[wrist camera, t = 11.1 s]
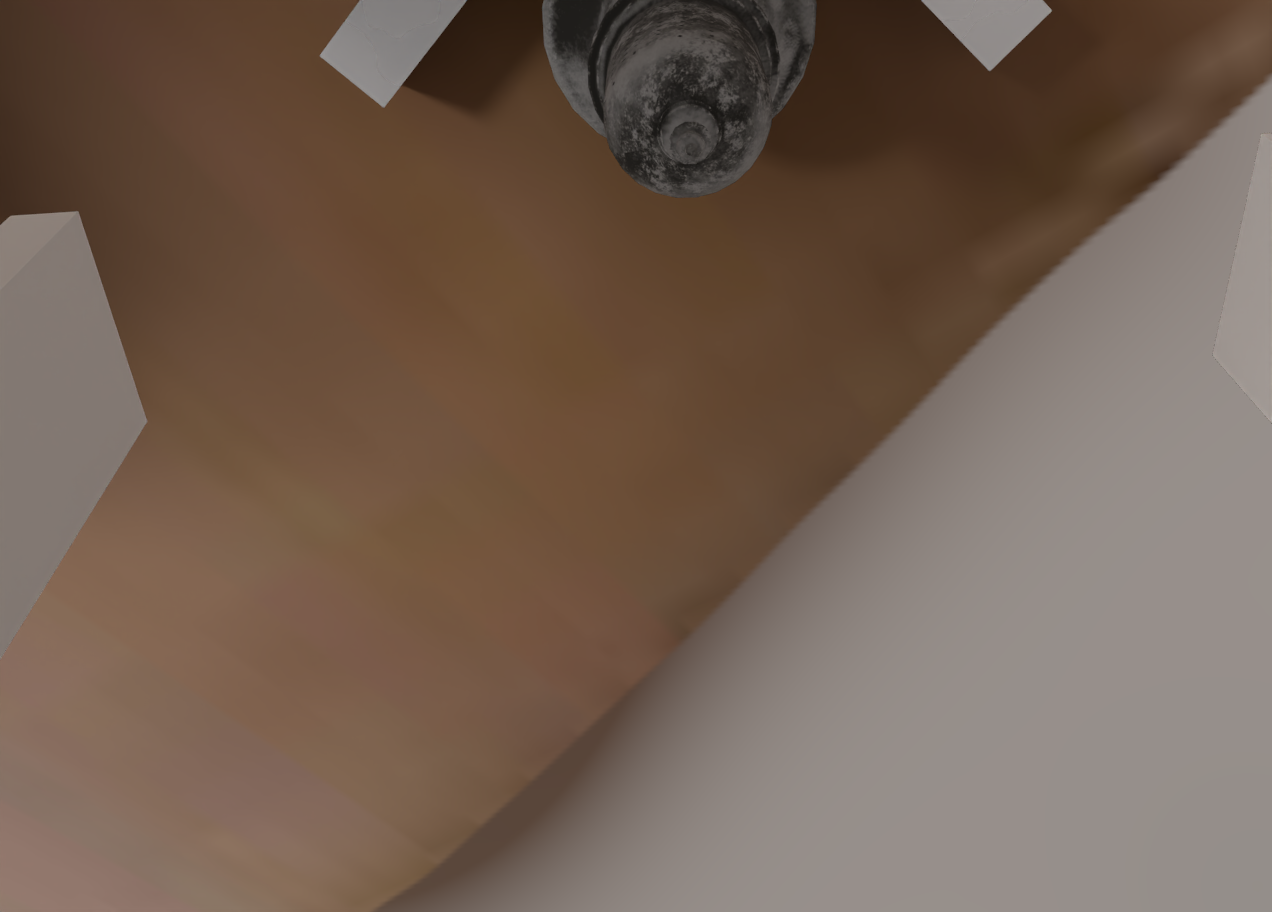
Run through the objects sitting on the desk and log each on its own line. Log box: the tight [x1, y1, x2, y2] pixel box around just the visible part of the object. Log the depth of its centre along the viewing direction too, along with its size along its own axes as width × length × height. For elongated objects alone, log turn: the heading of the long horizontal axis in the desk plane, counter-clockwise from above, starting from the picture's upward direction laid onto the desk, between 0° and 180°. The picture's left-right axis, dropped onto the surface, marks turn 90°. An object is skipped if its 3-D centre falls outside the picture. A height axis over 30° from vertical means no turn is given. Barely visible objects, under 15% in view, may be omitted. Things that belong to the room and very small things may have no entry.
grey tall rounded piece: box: [542, 0, 817, 198], centre depth 24 cm, size 6×6×12 cm
